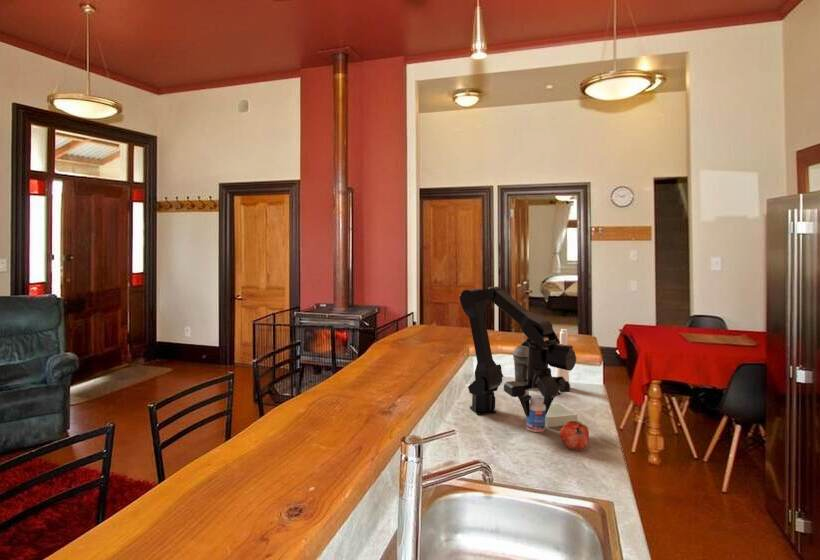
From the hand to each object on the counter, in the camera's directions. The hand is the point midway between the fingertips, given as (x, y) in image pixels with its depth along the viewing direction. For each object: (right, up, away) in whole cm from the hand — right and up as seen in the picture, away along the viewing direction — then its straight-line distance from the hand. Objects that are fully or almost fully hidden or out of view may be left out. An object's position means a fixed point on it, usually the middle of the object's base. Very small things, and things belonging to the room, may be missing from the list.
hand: (535, 415), depth 143 cm
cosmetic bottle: (+19, -1, +38) cm, 43 cm away
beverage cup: (+5, 0, +40) cm, 41 cm away
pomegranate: (+7, -6, -12) cm, 15 cm away
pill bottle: (0, -4, 0) cm, 4 cm away
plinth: (+7, -3, +8) cm, 11 cm away
